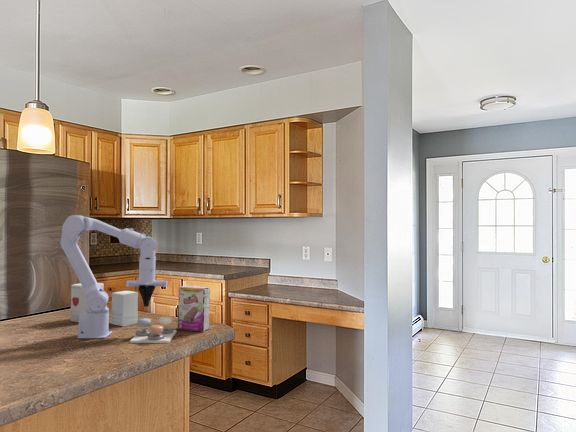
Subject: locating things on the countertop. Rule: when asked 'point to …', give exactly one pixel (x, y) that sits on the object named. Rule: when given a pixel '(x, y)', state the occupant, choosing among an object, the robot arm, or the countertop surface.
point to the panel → (153, 336)
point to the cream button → (165, 320)
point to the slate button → (143, 322)
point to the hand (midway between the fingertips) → (146, 306)
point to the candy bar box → (193, 308)
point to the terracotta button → (156, 329)
